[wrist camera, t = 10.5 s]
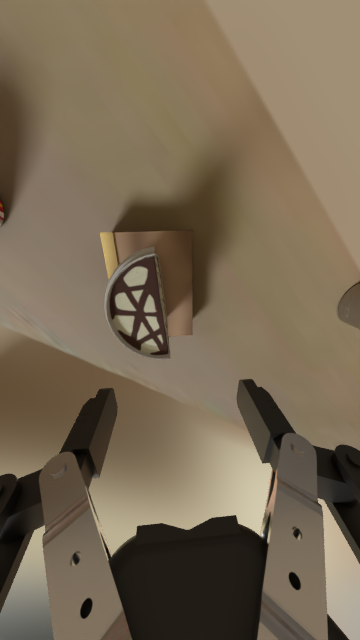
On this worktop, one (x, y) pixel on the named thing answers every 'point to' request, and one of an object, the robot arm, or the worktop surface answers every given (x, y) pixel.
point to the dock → (173, 266)
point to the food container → (138, 305)
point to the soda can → (1, 214)
